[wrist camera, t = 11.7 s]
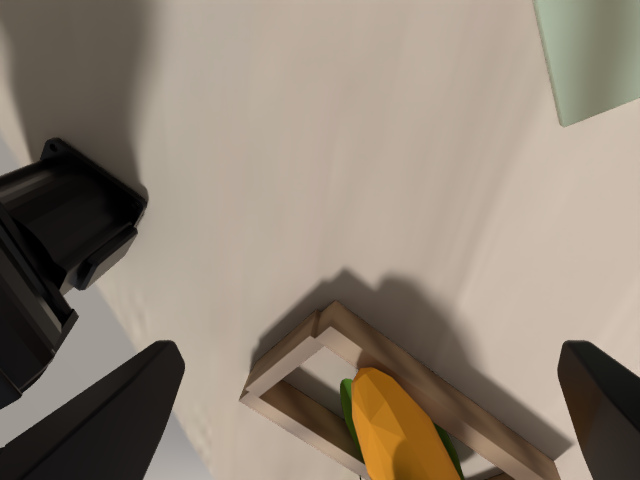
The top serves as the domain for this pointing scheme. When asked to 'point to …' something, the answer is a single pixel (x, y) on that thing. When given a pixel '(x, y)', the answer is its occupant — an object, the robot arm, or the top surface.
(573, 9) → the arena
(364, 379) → the corn
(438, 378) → the cob rest
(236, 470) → the top surface
